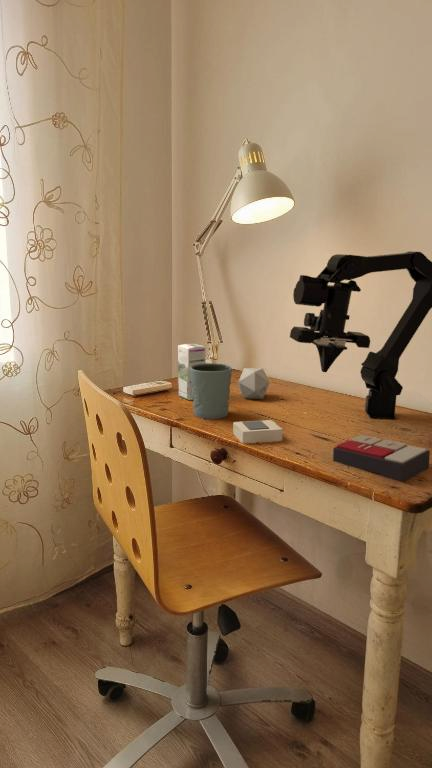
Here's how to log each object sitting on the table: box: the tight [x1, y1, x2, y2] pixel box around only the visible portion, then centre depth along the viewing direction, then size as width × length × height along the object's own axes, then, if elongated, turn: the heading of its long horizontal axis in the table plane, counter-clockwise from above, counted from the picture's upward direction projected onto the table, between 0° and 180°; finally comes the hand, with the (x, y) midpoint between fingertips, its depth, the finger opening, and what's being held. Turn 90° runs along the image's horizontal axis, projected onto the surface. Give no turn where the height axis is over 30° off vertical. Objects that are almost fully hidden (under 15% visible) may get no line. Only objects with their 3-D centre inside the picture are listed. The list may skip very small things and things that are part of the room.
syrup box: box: [177, 343, 206, 401], centre depth 158 cm, size 6×6×14 cm
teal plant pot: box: [190, 362, 233, 420], centre depth 143 cm, size 10×10×12 cm
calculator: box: [332, 434, 431, 483], centre depth 113 cm, size 11×4×15 cm
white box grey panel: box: [232, 419, 283, 444], centre depth 127 cm, size 3×7×9 cm
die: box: [237, 367, 271, 400], centre depth 160 cm, size 8×9×10 cm
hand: (323, 371), depth 141 cm, fingers closed
